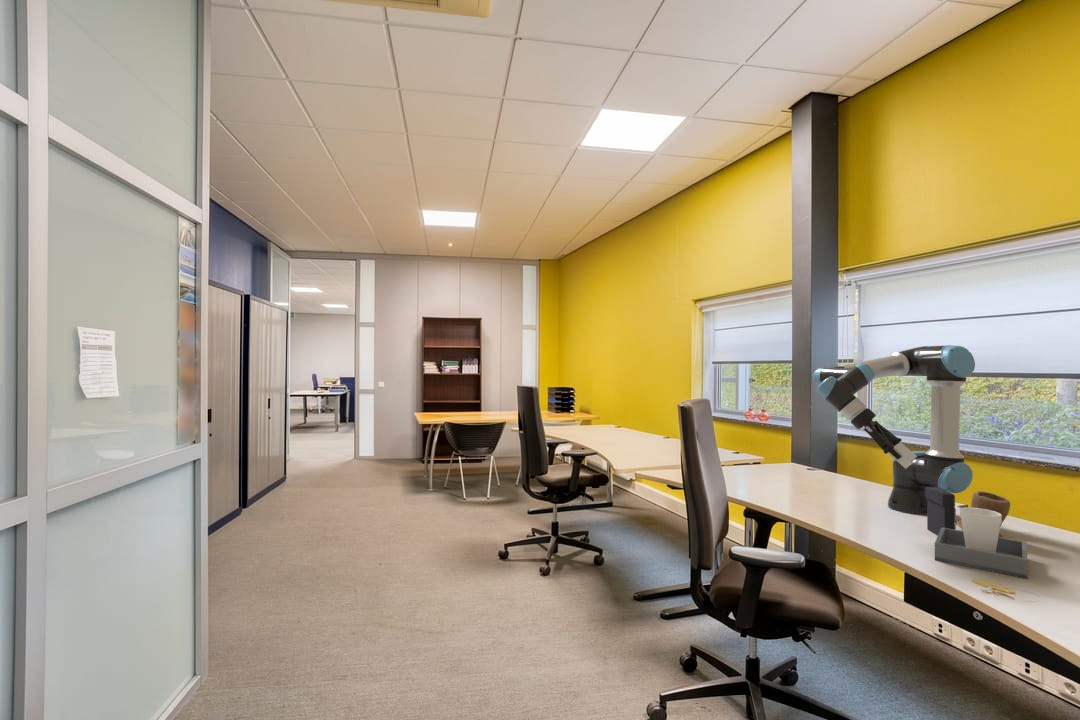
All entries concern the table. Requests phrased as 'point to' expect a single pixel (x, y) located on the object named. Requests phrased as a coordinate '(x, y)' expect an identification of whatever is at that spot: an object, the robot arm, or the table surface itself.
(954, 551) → the tray
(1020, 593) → the table surface
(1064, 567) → the table surface
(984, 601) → the table surface
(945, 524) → the dark blue upright block
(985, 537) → the foam cup
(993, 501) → the brown flared vessel
